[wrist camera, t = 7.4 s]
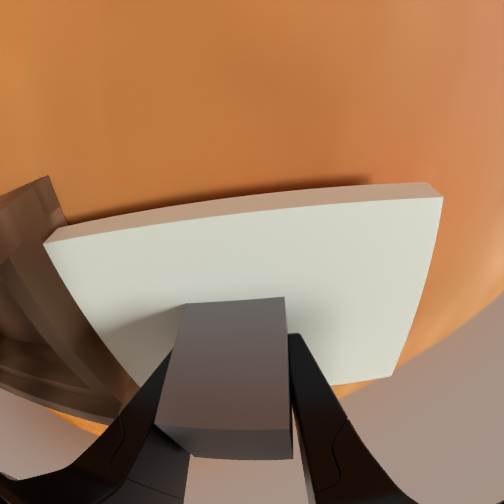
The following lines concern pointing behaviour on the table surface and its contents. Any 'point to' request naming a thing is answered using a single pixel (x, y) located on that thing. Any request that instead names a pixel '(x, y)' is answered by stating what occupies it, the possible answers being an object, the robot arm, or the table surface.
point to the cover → (252, 300)
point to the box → (50, 319)
